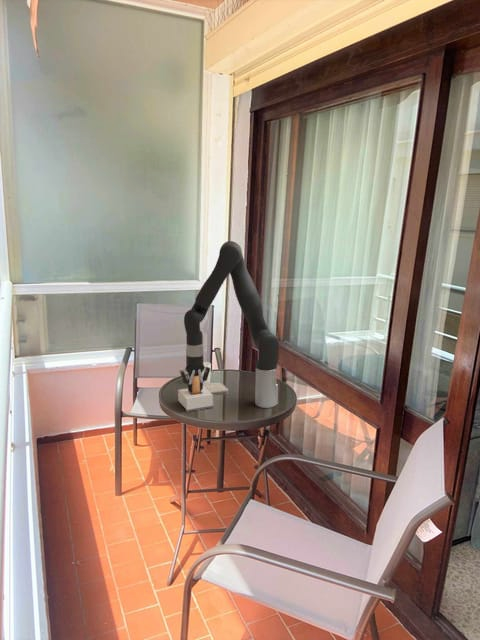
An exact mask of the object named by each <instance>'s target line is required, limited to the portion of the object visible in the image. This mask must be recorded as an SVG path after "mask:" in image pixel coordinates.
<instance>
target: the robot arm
mask: <svg viewBox="0 0 480 640" xmlns="http://www.w3.org/2000/svg"><path fill="white" fill-rule="evenodd" d="M229 275H230V277H231V280H232V286H233V290H234V293H235V297H236V301H238V305H239V306H240V309H241V311H242V313H243V316H244V318H245V320H246V322H247V324H248V326H249V329H250V333H251V337H252V341H253V342H254V346H255V347H256V349H257V350H258V359H257V360H256V361H255V397H254V399H255V400H254V401H255V402H254V403H255V406H257V407H259V408H267V409H268V408H269V409H270V408H273V407H275V406H277V405H278V404H279V403H278V402H279V384H278V383H277V377H278V376H277V375H278V374H277V373H278V372H277V369H278V368H277V367H278V363H279V356H280V341H279V338H278V337H277V336H276V335H275V334H274V333H272V332H271V330H270V329H269V327H268V325H267V323H266V321H265V318H264V310H263V304H262V300H261V297H260V294H259V292H258V290H257V287H256V285H255V283H254V281H253V279H252V277H251V274H250V273H249V271H248V269H247V266H246V263H245V258H244V255H243V250H242V248H241V246H240V244H239V243H237V242H235V241H232V240H228V241H225V242H224V243H223V244H222V245H221V246H220V249H219V253H218V258H217V261H216V263H215V266H214V268H213V269H212V272H211V273H210V274H209V276H208V278H207V279H206V281H205V282H204V283H203V285H202V286H201V288H200V289H199V292H198V293H197V295H196V296H195V301H194V304H193V305H192V307H191V309H189V310H188V311H186V312H185V314H184V317H183V323H184V324H183V325H184V329H185V333H186V334H185V335H186V346H185V347H186V348H185V356H186V357H185V362H186V363H185V364H186V365H185V369H183V370H179V374H180V376H181V379H182V381H183V383H184V384H186V385H187V387H188V391H189V392H192V384H191V383H192V380H193V377H194V376H199V377H200V391H202V389H203V382H204V381H206V380H207V378H208V375H209V372H210V368H209V367H204V365H203V363H204V362H205V361H204V354H205V351H204V344H203V343H204V342H203V341H204V339H203V338H204V337H203V332H202V331H201V325H200V323H201V322H203V320H204V319H205V317H206V316H207V313H208V311H209V310H210V309H209V308H210V307H211V305H212V304H213V301H214V300H215V298H216V297H217V295H218V293H219V291H220V289H221V288H222V286H223V284H224V282H225V281H226V279H227V277H228V276H229ZM203 370H204V371H205V372H204V375H203V378H202V374H201V373H202V371H203ZM186 374H188V375H187V377H186Z"/></svg>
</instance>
